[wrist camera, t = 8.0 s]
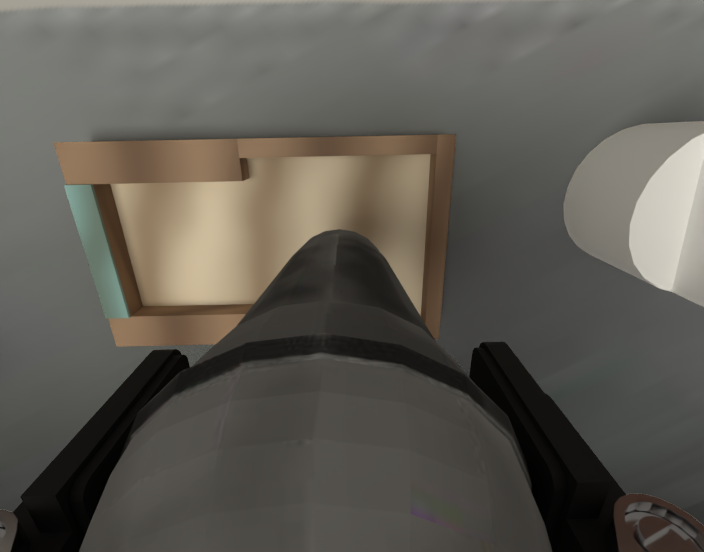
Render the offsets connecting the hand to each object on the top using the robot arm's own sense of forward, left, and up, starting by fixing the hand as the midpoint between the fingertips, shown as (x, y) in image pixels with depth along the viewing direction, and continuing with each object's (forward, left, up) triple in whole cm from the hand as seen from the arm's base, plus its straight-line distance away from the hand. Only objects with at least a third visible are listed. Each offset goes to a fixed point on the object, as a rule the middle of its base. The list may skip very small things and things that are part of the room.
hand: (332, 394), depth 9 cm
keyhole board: (+4, +2, -16) cm, 17 cm away
